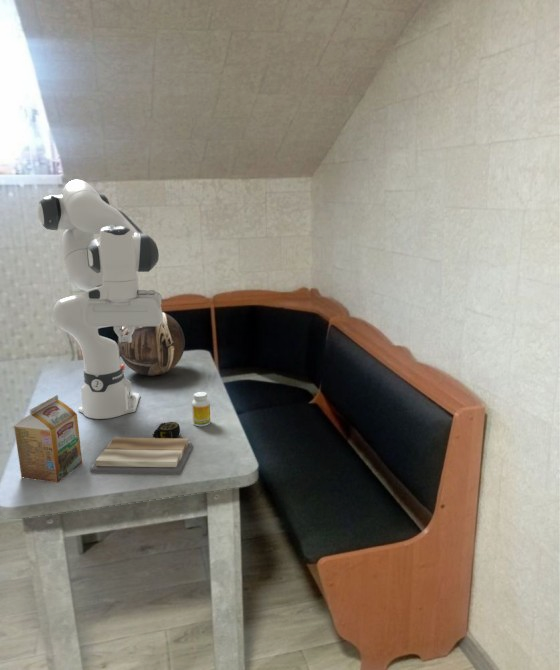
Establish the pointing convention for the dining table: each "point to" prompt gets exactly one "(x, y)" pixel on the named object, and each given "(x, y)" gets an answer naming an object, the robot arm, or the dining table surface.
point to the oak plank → (149, 444)
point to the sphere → (153, 347)
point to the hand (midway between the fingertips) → (125, 342)
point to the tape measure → (167, 430)
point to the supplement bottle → (201, 409)
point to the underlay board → (144, 469)
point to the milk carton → (48, 441)
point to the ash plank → (139, 458)
